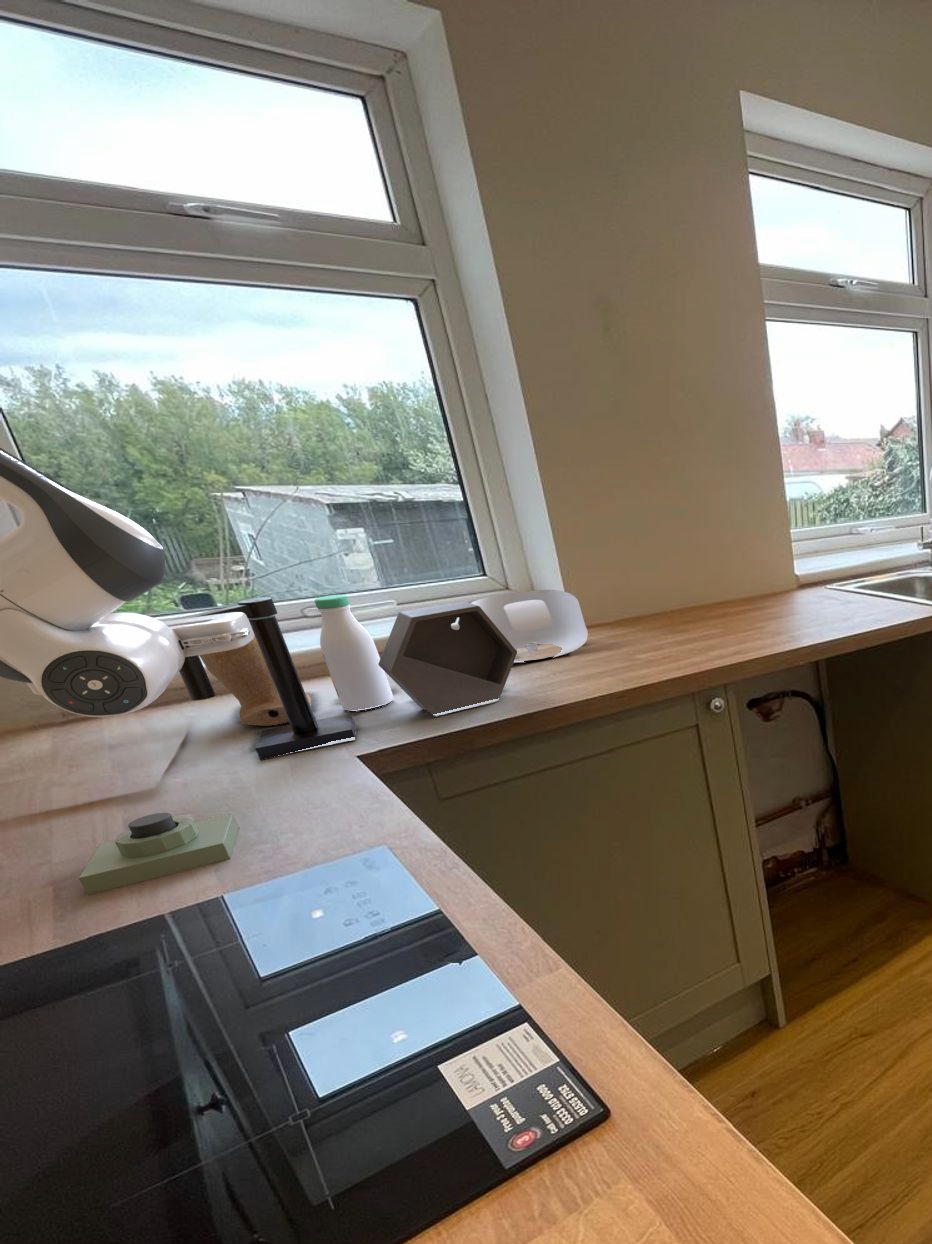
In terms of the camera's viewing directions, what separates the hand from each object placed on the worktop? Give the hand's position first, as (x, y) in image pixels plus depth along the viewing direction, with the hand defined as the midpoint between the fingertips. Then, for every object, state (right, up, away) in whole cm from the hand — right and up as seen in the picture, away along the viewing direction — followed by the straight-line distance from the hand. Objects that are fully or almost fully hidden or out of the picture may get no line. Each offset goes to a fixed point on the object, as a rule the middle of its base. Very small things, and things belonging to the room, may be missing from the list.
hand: (152, 631), depth 103 cm
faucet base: (-5, -14, +29) cm, 32 cm away
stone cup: (-21, -10, +41) cm, 47 cm away
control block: (+9, -28, -7) cm, 30 cm away
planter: (+11, -7, +44) cm, 46 cm away
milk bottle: (-8, -7, +46) cm, 47 cm away
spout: (-6, -5, +19) cm, 21 cm away
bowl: (+4, +6, +77) cm, 77 cm away
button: (+9, -25, -8) cm, 27 cm away
